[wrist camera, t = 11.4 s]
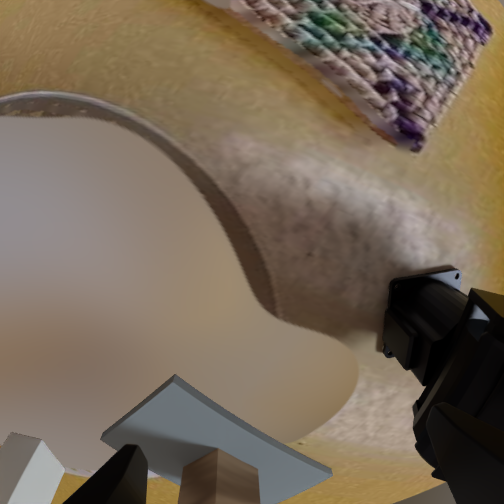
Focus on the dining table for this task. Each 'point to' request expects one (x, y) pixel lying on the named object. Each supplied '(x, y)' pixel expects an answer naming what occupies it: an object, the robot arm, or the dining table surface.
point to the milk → (28, 471)
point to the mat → (209, 441)
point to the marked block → (219, 481)
